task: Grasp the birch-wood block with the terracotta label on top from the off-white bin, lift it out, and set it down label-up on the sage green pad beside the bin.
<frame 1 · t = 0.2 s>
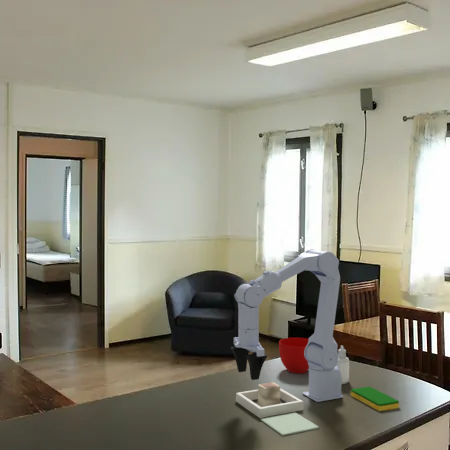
hand: (248, 375, 160), 10 cm above the kitchen counter, tool pointing down, fingers open, 7 cm apart
dish sponge: (374, 403, 168), on the kitchen counter
eye dropper bottle: (341, 383, 185), on the kitchen counter
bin: (268, 405, 163), on the kitchen counter
ceramic cup: (302, 372, 196), on the kitchen counter
birch block: (268, 395, 163), in the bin
pad: (289, 424, 150), on the kitchen counter
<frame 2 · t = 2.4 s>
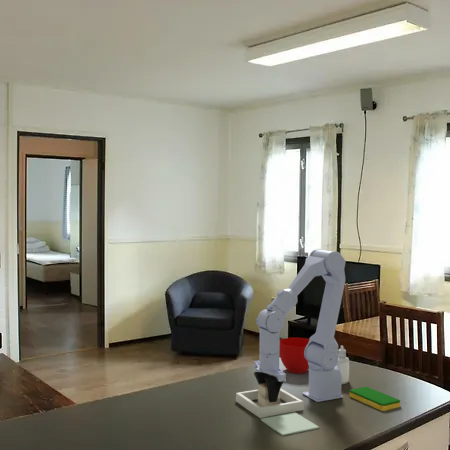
hand: (268, 399, 163), 2 cm above the kitchen counter, tool pointing down, fingers closed on birch block, 4 cm apart
birch block: (268, 395, 163), in the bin, touching gripper
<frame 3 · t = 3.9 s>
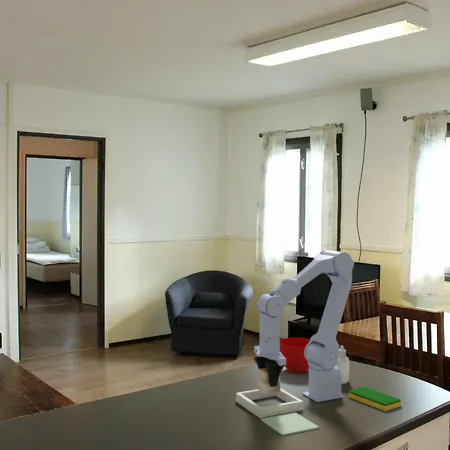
hand: (269, 383, 163), 6 cm above the kitchen counter, tool pointing down, fingers closed on birch block, 4 cm apart
birch block: (269, 379, 163), point 8 cm above the kitchen counter, touching gripper
everything else where it was.
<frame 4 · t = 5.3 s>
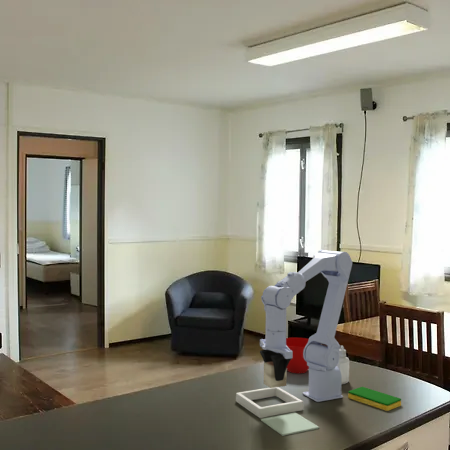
hand: (275, 377, 159), 9 cm above the kitchen counter, tool pointing down, fingers closed on birch block, 4 cm apart
birch block: (275, 373, 159), point 11 cm above the kitchen counter, touching gripper
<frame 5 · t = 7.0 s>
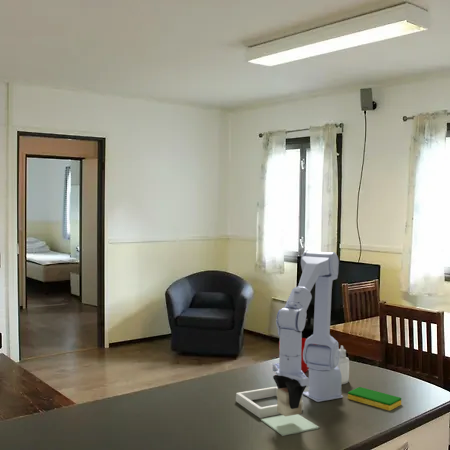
hand: (289, 405, 150), 5 cm above the kitchen counter, tool pointing down, fingers closed on birch block, 4 cm apart
birch block: (289, 400, 150), point 6 cm above the kitchen counter, touching gripper
when the fingers open (3 cm above the kitchen counter, at t = 8.5 s): birch block drops 1 cm, resting on pad.
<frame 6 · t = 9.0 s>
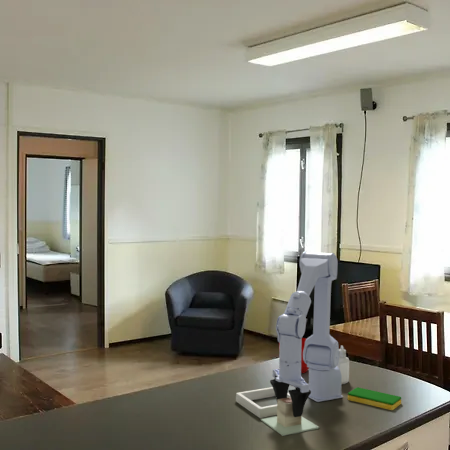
hand: (289, 411, 150), 4 cm above the kitchen counter, tool pointing down, fingers open, 7 cm apart
birch block: (289, 411, 150), on the pad
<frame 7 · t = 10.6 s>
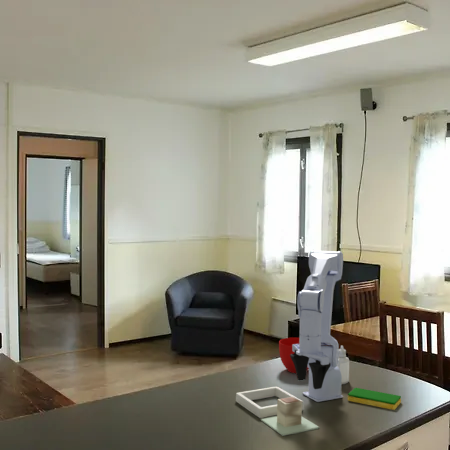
hand: (309, 384, 154), 9 cm above the kitchen counter, tool pointing down, fingers open, 7 cm apart
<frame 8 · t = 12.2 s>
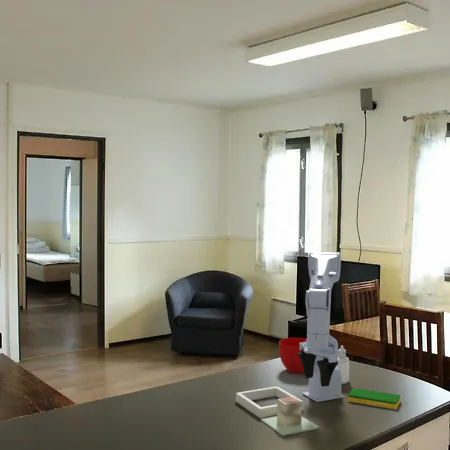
hand: (316, 381, 156), 9 cm above the kitchen counter, tool pointing down, fingers open, 7 cm apart
at the end: birch block 0.1 cm off-centre on the pad, point 3.5 cm above the pad's base; birch block tilted 0°; the gripper is holding nothing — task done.
